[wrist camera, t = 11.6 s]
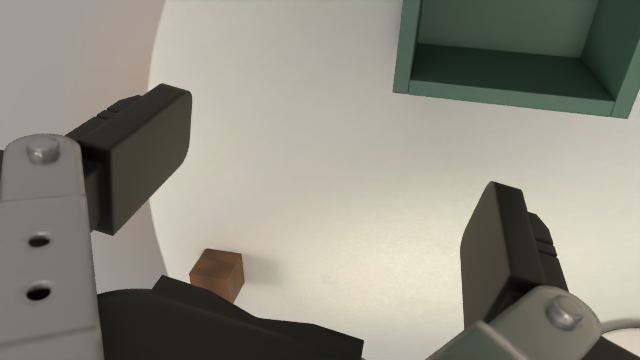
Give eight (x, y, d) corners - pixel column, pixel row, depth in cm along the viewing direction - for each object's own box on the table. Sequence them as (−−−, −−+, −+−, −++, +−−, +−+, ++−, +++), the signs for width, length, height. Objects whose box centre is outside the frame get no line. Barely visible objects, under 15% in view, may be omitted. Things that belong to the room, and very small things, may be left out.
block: (210, 277, 58) (194, 302, 54) (205, 248, 56) (188, 273, 52) (244, 282, 57) (230, 309, 54) (241, 253, 55) (226, 279, 51)
